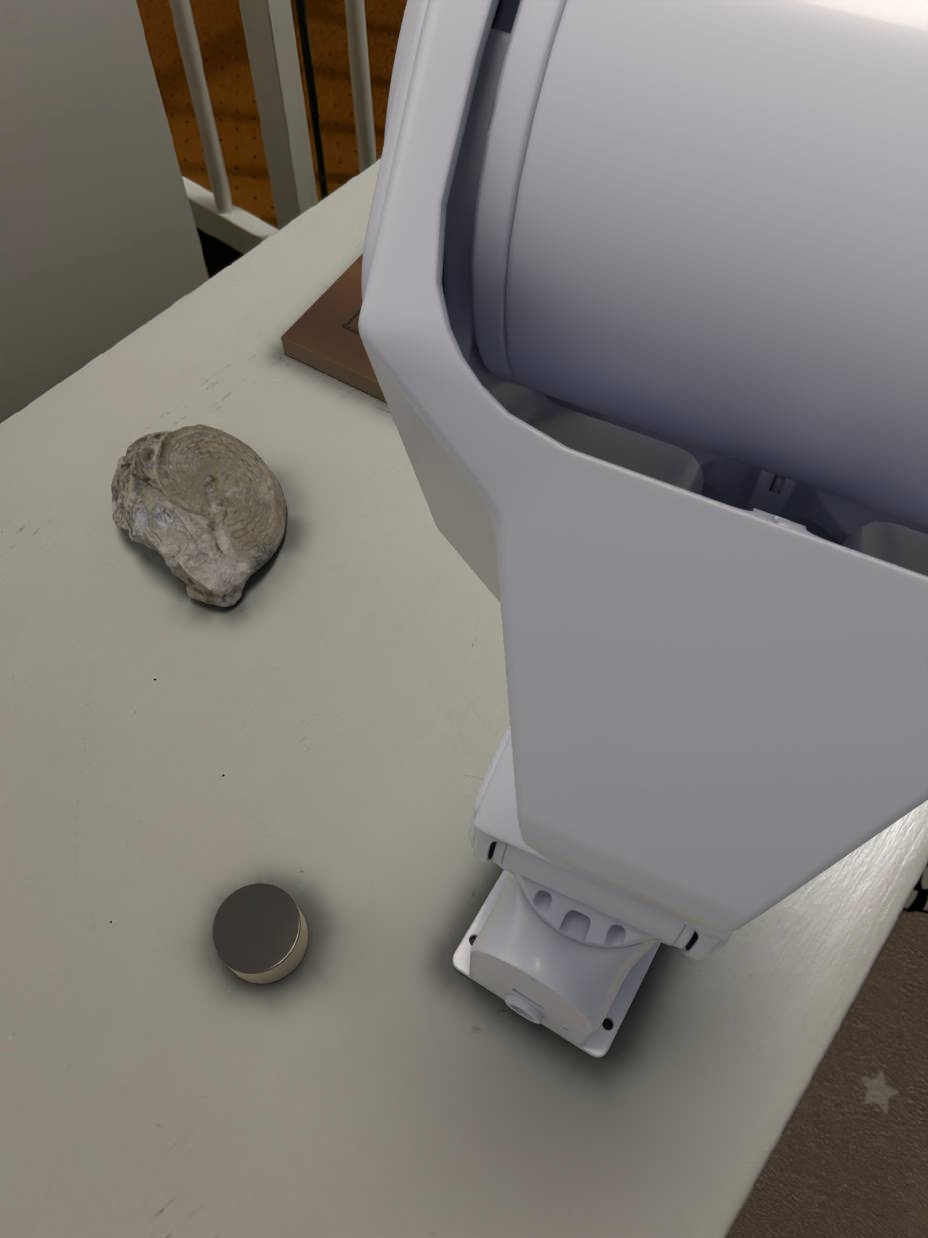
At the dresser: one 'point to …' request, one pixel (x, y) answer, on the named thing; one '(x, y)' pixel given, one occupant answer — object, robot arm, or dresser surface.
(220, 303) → the dresser surface
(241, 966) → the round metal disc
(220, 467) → the fossilized seashell
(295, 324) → the board
